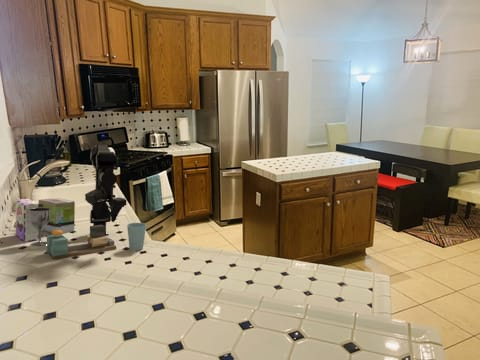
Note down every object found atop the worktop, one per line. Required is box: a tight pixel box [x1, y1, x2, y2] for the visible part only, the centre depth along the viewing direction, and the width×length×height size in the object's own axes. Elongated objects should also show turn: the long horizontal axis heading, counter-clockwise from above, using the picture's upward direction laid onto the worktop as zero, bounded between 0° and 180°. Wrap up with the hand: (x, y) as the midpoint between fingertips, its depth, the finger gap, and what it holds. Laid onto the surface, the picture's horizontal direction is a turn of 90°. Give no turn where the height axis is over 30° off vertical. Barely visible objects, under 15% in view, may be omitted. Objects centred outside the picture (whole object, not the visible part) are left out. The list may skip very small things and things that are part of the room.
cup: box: [126, 222, 147, 252], centre depth 151 cm, size 8×8×10 cm
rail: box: [45, 234, 117, 260], centre depth 145 cm, size 10×24×7 cm, turn 133°
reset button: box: [51, 230, 63, 236], centre depth 138 cm, size 4×4×1 cm
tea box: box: [37, 197, 76, 234], centre depth 173 cm, size 15×10×15 cm, turn 58°
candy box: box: [14, 198, 39, 243], centre depth 158 cm, size 14×6×16 cm, turn 45°
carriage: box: [86, 225, 109, 247], centre depth 149 cm, size 7×6×8 cm
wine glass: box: [29, 207, 51, 248], centre depth 150 cm, size 8×8×15 cm
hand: (105, 219), depth 148 cm, fingers open, 9 cm apart
